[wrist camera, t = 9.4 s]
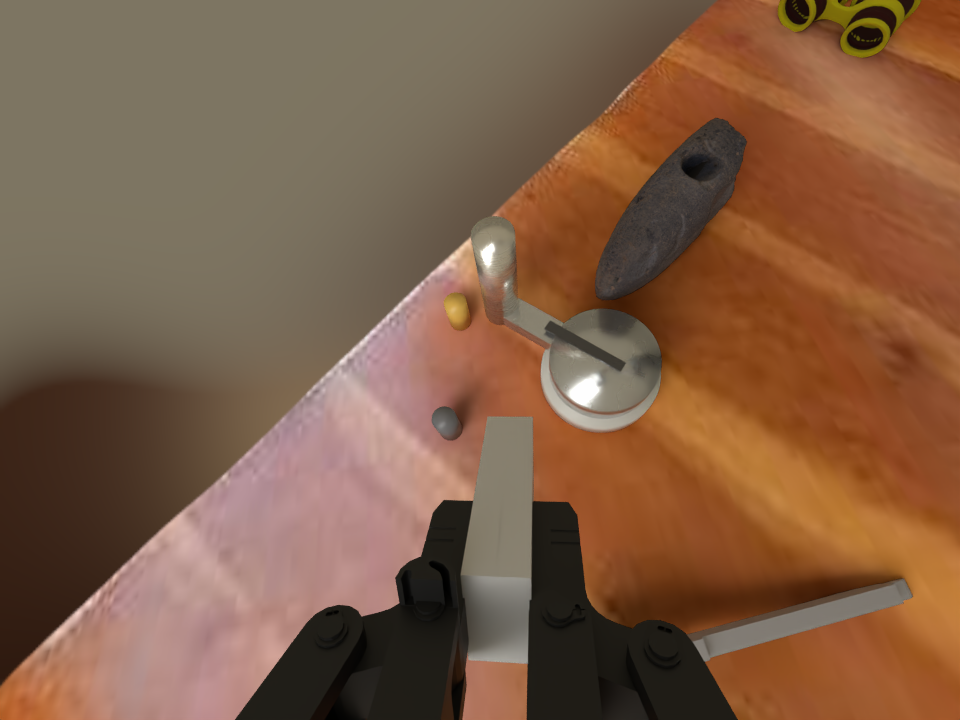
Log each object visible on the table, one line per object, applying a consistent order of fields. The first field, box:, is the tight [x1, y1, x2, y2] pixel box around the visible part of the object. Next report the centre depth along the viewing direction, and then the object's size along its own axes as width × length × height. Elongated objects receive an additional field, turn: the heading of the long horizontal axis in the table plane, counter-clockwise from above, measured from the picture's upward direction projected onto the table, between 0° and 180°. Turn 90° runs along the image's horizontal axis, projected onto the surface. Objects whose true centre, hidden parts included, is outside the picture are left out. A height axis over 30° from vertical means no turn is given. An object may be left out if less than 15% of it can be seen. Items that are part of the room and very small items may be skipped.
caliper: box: [687, 579, 913, 662], centre depth 26 cm, size 20×1×6 cm, turn 102°
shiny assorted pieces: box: [432, 293, 661, 440], centre depth 34 cm, size 16×13×3 cm
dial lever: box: [471, 216, 662, 419], centre depth 30 cm, size 13×7×9 cm, turn 55°
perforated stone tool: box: [595, 118, 747, 300], centre depth 35 cm, size 15×5×7 cm, turn 137°
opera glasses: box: [778, 0, 921, 58], centre depth 43 cm, size 10×5×5 cm, turn 48°
